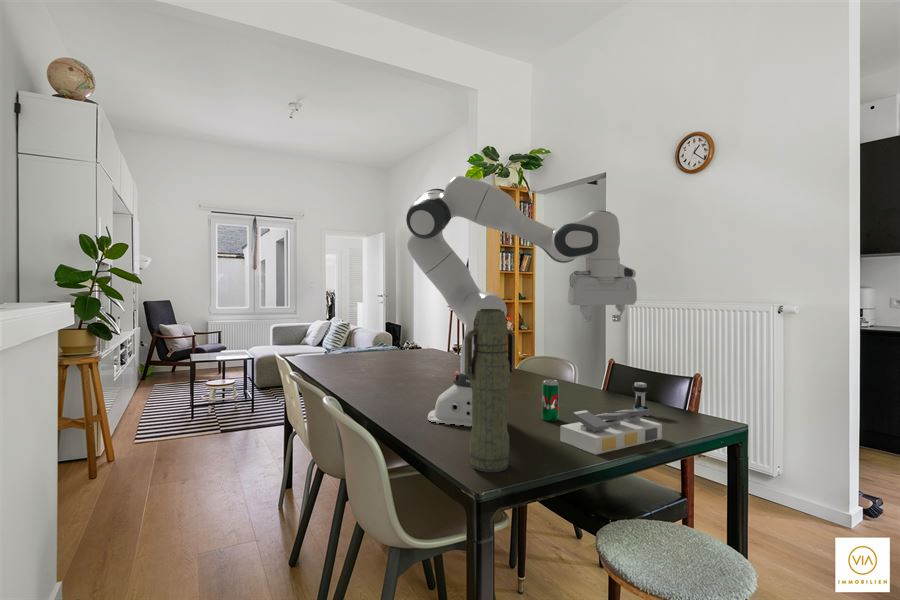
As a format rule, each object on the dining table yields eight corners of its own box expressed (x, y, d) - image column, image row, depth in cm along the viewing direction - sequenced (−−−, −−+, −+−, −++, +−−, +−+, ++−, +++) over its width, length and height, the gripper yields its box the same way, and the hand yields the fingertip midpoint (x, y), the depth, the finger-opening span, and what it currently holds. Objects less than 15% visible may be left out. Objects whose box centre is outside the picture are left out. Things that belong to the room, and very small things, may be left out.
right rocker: (638, 416, 122) (637, 411, 122) (614, 416, 129) (613, 411, 129) (650, 413, 125) (649, 408, 125) (626, 414, 131) (625, 409, 132)
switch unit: (596, 455, 111) (596, 433, 111) (560, 440, 122) (560, 421, 122) (662, 439, 124) (662, 420, 124) (624, 427, 134) (624, 410, 134)
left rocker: (594, 431, 114) (595, 427, 114) (571, 416, 121) (572, 412, 121) (608, 428, 117) (609, 424, 117) (585, 414, 124) (586, 409, 123)
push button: (655, 416, 147) (655, 385, 146) (640, 417, 145) (640, 386, 145) (642, 411, 153) (642, 381, 153) (627, 412, 152) (628, 381, 152)
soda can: (559, 418, 144) (559, 379, 144) (557, 422, 139) (558, 382, 139) (542, 416, 146) (543, 378, 145) (540, 421, 141) (541, 381, 141)
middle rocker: (617, 420, 118) (616, 414, 118) (594, 420, 125) (593, 415, 125) (630, 417, 121) (629, 412, 121) (607, 417, 127) (606, 413, 128)
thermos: (456, 463, 105) (457, 308, 105) (498, 454, 111) (500, 308, 111) (477, 476, 98) (478, 310, 97) (522, 466, 103) (523, 309, 103)
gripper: (576, 270, 120) (576, 323, 120) (640, 271, 127) (640, 321, 127) (563, 271, 126) (563, 322, 126) (624, 272, 133) (624, 320, 133)
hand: (602, 321), depth 127 cm, fingers open, 8 cm apart
